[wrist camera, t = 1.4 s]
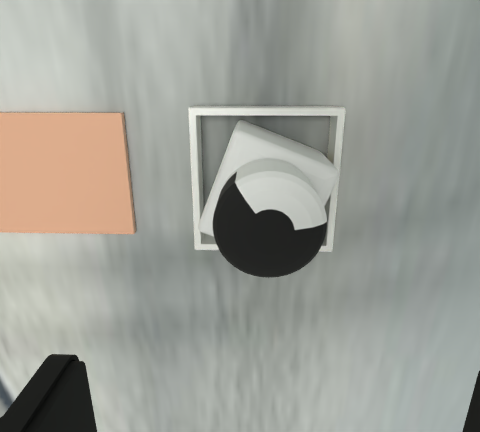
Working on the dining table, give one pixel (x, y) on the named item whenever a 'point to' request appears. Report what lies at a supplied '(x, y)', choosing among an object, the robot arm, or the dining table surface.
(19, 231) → the coaster
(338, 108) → the parts bin
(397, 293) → the dining table surface
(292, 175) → the medicine bottle
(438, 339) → the dining table surface
